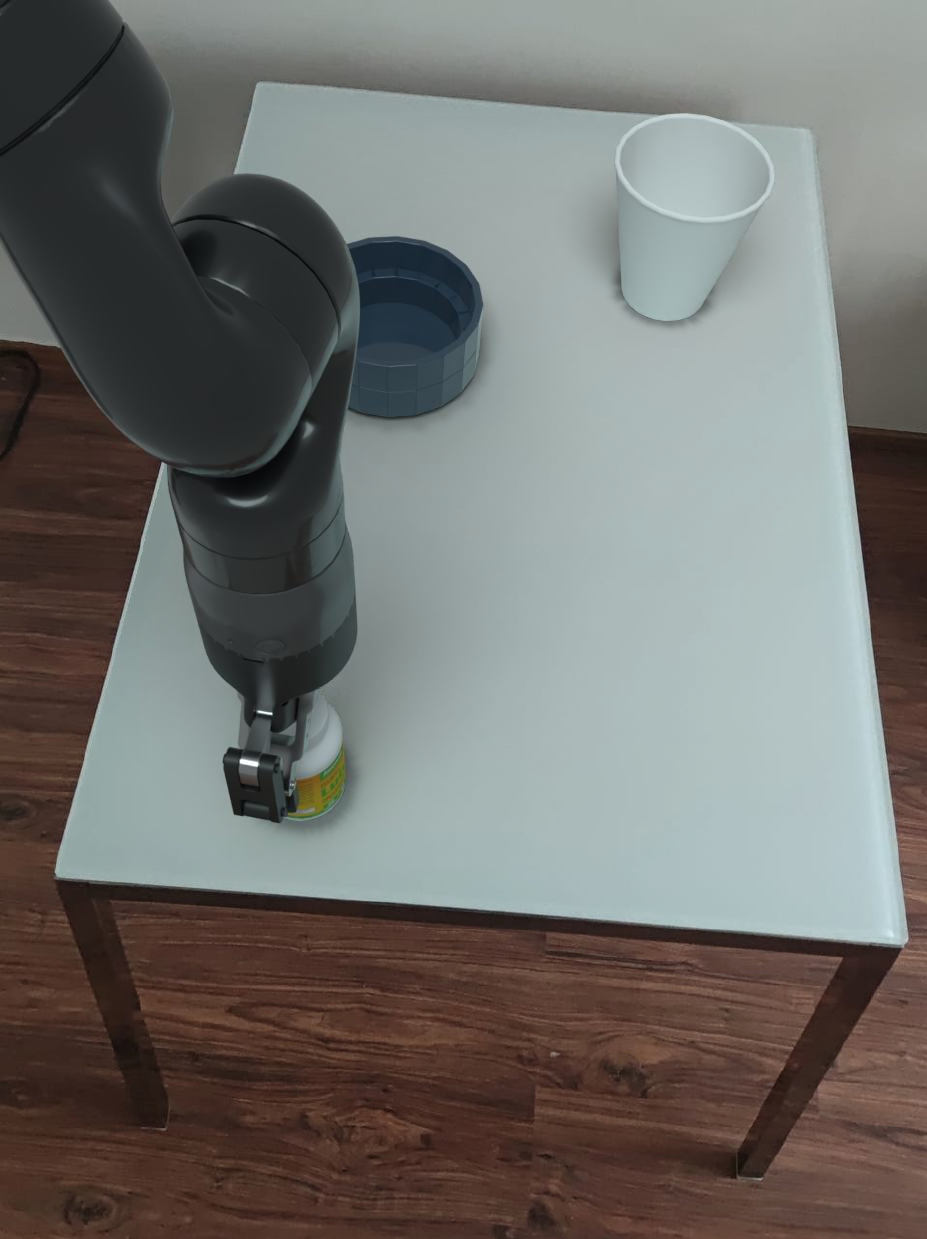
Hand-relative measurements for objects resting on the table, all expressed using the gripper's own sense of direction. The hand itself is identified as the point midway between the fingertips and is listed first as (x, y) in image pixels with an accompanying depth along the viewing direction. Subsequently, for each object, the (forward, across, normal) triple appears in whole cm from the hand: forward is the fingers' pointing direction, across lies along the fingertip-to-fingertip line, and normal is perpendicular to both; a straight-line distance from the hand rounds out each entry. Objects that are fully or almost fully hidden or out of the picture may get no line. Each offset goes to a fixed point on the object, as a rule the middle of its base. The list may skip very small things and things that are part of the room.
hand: (298, 737), depth 70 cm
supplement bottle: (+7, 0, 0) cm, 7 cm away
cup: (+7, -48, +18) cm, 52 cm away
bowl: (+6, -36, -2) cm, 37 cm away
